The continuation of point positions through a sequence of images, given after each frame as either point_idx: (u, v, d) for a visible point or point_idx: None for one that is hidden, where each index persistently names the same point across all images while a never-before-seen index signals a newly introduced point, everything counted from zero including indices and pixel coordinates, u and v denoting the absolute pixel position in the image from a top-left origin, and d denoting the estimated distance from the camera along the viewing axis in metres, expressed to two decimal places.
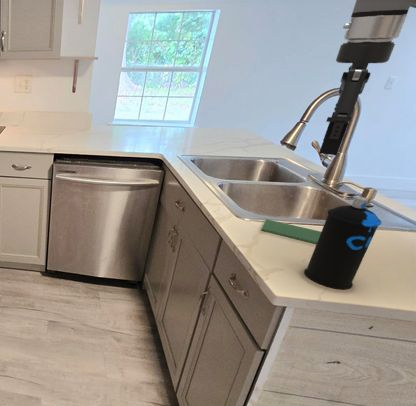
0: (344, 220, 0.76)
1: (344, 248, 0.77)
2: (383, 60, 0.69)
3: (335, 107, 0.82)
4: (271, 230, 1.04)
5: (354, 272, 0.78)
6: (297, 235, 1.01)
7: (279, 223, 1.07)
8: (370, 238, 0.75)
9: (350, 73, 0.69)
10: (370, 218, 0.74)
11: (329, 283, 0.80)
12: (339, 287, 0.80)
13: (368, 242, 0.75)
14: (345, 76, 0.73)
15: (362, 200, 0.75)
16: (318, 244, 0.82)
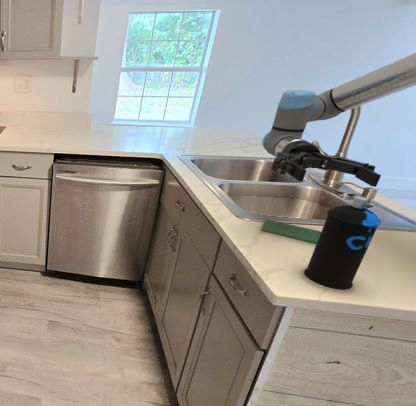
0: (344, 220, 0.76)
1: (344, 248, 0.77)
2: (296, 145, 0.98)
3: None
4: (271, 230, 1.04)
5: (354, 272, 0.78)
6: (297, 235, 1.01)
7: (279, 223, 1.07)
8: (370, 238, 0.75)
9: None
10: (370, 218, 0.74)
11: (329, 283, 0.80)
12: (339, 287, 0.80)
13: (368, 242, 0.75)
14: None
15: (362, 200, 0.75)
16: (318, 244, 0.82)
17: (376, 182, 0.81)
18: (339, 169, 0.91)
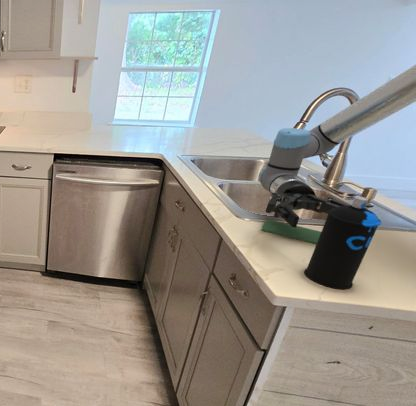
0: (344, 220, 0.76)
1: (344, 248, 0.77)
2: (291, 186, 0.99)
3: None
4: (271, 230, 1.04)
5: (354, 272, 0.78)
6: (297, 235, 1.01)
7: (279, 223, 1.07)
8: (370, 238, 0.75)
9: (269, 200, 1.00)
10: (370, 218, 0.74)
11: (329, 283, 0.80)
12: (339, 287, 0.80)
13: (368, 242, 0.75)
14: None
15: (362, 200, 0.75)
16: (318, 244, 0.82)
17: None
18: None
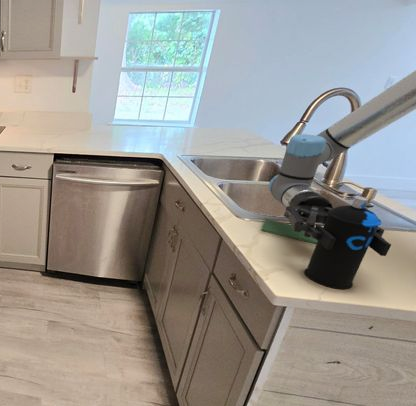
0: (344, 220, 0.75)
1: (344, 248, 0.77)
2: (306, 198, 0.91)
3: None
4: (271, 230, 1.04)
5: (354, 272, 0.78)
6: (297, 235, 1.01)
7: (279, 223, 1.07)
8: (370, 238, 0.75)
9: (284, 215, 0.91)
10: (370, 218, 0.74)
11: (329, 283, 0.80)
12: (339, 287, 0.80)
13: (368, 242, 0.75)
14: None
15: (362, 200, 0.75)
16: (318, 244, 0.82)
17: (386, 252, 0.74)
18: None
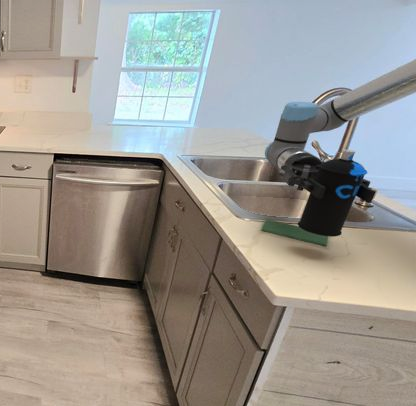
0: (333, 170, 0.83)
1: (334, 197, 0.84)
2: (299, 157, 0.98)
3: None
4: (271, 230, 1.04)
5: (343, 220, 0.85)
6: (297, 235, 1.01)
7: (279, 223, 1.07)
8: (357, 187, 0.82)
9: (279, 174, 0.98)
10: (357, 168, 0.81)
11: (320, 231, 0.87)
12: (329, 234, 0.87)
13: (355, 191, 0.82)
14: None
15: (350, 152, 0.82)
16: (310, 196, 0.89)
17: (371, 199, 0.81)
18: None
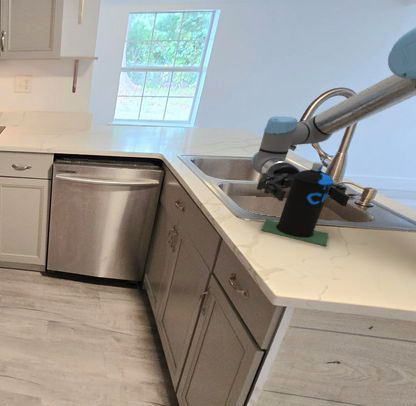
0: (305, 180, 0.95)
1: (305, 203, 0.96)
2: (279, 167, 1.11)
3: None
4: (271, 230, 1.04)
5: (314, 223, 0.98)
6: None
7: None
8: (325, 194, 0.95)
9: None
10: (324, 178, 0.93)
11: (294, 233, 1.00)
12: (302, 235, 0.99)
13: (324, 198, 0.95)
14: None
15: (319, 164, 0.94)
16: (286, 202, 1.01)
17: (346, 203, 0.94)
18: None
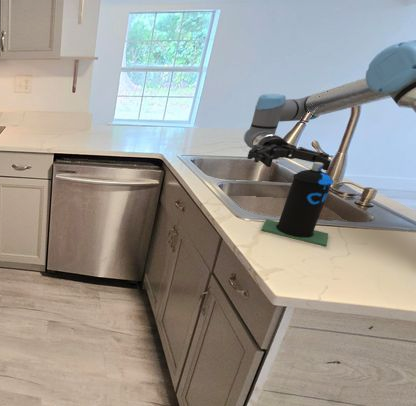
0: (304, 180, 0.95)
1: (305, 203, 0.96)
2: (268, 139, 1.20)
3: None
4: (271, 230, 1.04)
5: (314, 223, 0.98)
6: None
7: None
8: (325, 194, 0.95)
9: None
10: (324, 178, 0.94)
11: (294, 233, 1.00)
12: (302, 235, 0.99)
13: (324, 198, 0.95)
14: None
15: (319, 164, 0.94)
16: (286, 202, 1.01)
17: (328, 167, 1.03)
18: (301, 158, 1.12)
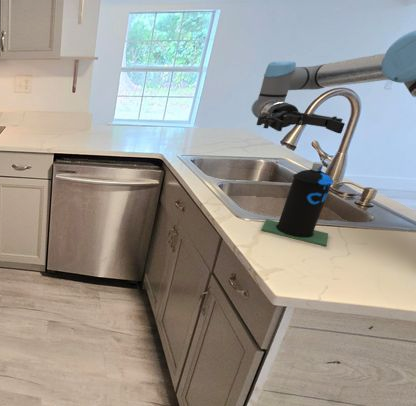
0: (304, 180, 0.95)
1: (305, 203, 0.96)
2: (278, 106, 1.15)
3: None
4: (271, 230, 1.04)
5: (314, 223, 0.98)
6: None
7: None
8: (325, 194, 0.95)
9: None
10: (324, 178, 0.94)
11: (294, 233, 1.00)
12: (302, 235, 0.99)
13: (324, 198, 0.95)
14: None
15: (319, 164, 0.94)
16: (286, 202, 1.01)
17: (341, 130, 0.99)
18: (313, 123, 1.08)
